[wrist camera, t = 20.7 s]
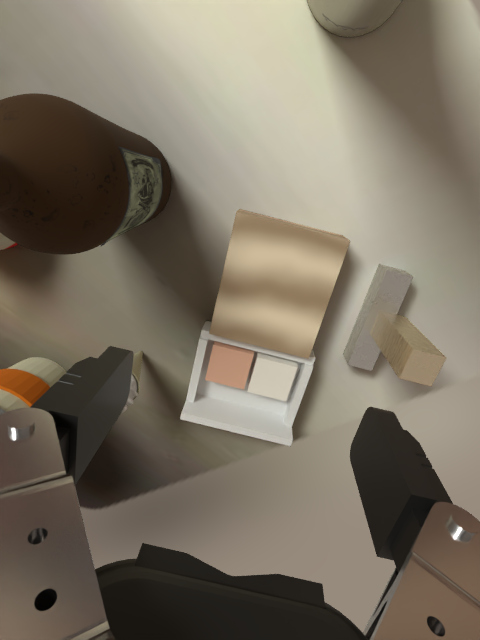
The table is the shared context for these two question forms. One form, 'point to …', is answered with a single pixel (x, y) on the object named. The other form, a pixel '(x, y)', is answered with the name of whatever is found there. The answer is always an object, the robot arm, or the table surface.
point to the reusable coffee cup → (27, 382)
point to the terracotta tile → (229, 365)
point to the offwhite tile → (272, 376)
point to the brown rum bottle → (73, 176)
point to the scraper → (391, 332)
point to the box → (243, 396)
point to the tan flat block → (276, 283)
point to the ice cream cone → (134, 378)
